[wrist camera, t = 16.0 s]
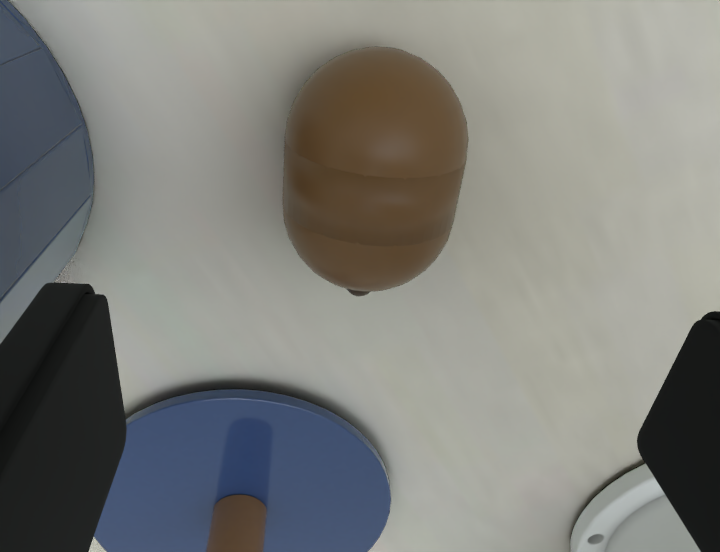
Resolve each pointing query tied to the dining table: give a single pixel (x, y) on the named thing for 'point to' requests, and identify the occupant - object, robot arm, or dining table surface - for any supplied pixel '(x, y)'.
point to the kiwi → (373, 168)
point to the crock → (37, 168)
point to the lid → (244, 478)
